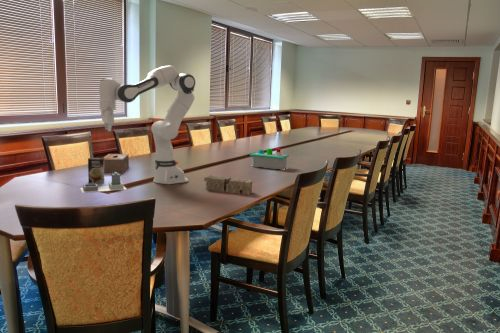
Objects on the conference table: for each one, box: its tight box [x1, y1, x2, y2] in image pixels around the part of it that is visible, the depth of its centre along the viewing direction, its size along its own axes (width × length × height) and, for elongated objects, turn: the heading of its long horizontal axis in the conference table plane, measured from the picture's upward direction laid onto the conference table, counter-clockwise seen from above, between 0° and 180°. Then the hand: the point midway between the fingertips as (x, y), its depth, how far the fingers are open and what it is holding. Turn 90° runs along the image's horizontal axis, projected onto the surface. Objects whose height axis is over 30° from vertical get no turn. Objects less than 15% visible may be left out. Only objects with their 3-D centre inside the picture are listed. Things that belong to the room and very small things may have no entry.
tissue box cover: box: [103, 153, 130, 174], centre depth 300 cm, size 26×14×10 cm, turn 7°
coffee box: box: [87, 157, 105, 184], centre depth 253 cm, size 9×6×16 cm
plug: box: [111, 172, 121, 185], centre depth 240 cm, size 4×4×9 cm
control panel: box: [249, 147, 290, 170], centre depth 332 cm, size 15×17×30 cm
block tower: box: [203, 174, 253, 195], centre depth 249 cm, size 8×8×29 cm
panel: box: [80, 181, 127, 194], centre depth 237 cm, size 24×12×4 cm, turn 118°
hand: (108, 130), depth 243 cm, fingers open, 8 cm apart
